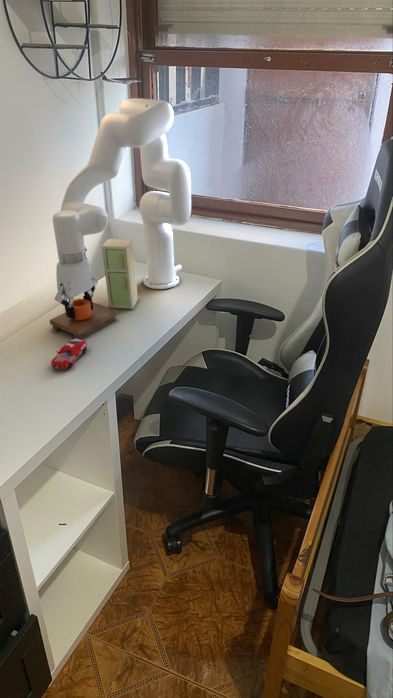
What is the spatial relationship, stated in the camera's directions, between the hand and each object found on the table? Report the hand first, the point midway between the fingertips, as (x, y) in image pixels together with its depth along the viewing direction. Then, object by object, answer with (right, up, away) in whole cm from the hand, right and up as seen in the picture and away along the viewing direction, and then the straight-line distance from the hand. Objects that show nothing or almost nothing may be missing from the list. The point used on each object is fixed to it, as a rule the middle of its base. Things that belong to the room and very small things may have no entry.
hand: (80, 312), depth 156 cm
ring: (0, -1, 0) cm, 1 cm away
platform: (+1, -4, +3) cm, 5 cm away
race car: (0, -14, -13) cm, 19 cm away
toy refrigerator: (+11, +3, +15) cm, 19 cm away
